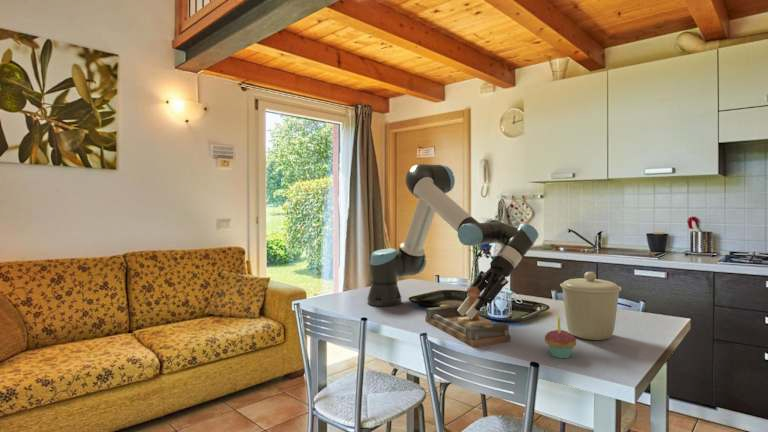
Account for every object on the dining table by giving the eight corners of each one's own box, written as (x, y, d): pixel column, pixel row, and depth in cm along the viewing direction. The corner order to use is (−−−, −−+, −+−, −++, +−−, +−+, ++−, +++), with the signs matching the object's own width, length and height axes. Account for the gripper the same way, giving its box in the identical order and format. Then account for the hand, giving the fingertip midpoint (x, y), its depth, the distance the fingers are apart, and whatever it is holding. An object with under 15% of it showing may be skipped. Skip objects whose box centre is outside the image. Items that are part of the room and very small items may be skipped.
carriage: (457, 326, 148) (457, 285, 147) (477, 323, 151) (477, 283, 150) (470, 333, 140) (470, 289, 140) (491, 330, 143) (491, 287, 143)
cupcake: (573, 362, 120) (573, 319, 120) (541, 357, 125) (541, 315, 124) (578, 353, 127) (578, 312, 127) (547, 348, 132) (547, 308, 131)
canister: (551, 336, 143) (551, 272, 142) (571, 324, 156) (571, 266, 155) (611, 348, 131) (611, 278, 130) (628, 334, 144) (628, 271, 143)
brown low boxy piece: (425, 321, 164) (425, 306, 163) (457, 316, 169) (457, 302, 169) (472, 347, 134) (472, 329, 134) (510, 341, 139) (510, 323, 139)
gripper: (529, 272, 142) (486, 329, 137) (496, 265, 159) (457, 315, 153) (515, 257, 140) (472, 314, 135) (483, 251, 157) (443, 302, 151)
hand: (464, 314), depth 144 cm, fingers open, 4 cm apart
